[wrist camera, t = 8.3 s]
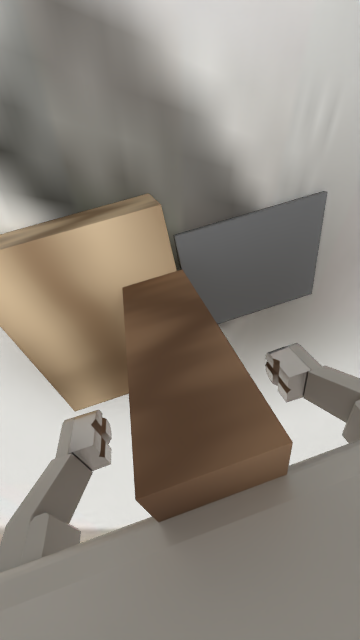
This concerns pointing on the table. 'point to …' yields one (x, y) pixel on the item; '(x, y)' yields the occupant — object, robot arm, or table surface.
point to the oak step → (81, 293)
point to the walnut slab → (192, 404)
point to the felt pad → (254, 257)
